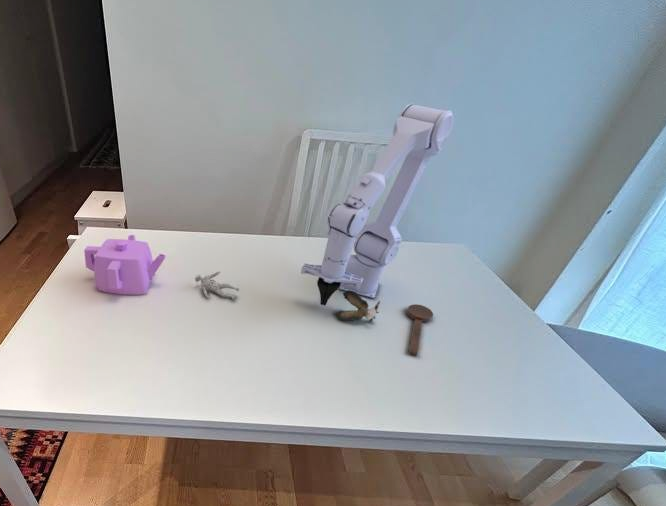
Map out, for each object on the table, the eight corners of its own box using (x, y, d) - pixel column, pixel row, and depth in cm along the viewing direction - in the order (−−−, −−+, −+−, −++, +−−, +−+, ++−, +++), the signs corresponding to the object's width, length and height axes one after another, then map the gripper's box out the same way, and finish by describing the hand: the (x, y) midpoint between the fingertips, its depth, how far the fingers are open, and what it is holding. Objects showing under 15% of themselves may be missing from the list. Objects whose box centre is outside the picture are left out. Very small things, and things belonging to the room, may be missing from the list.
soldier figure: (228, 308, 101) (188, 287, 102) (227, 310, 106) (189, 290, 107) (242, 282, 101) (201, 261, 102) (241, 285, 106) (202, 265, 106)
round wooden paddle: (426, 359, 87) (428, 354, 86) (398, 350, 89) (400, 346, 88) (431, 312, 101) (433, 308, 100) (407, 306, 103) (409, 301, 102)
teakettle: (85, 279, 109) (76, 238, 100) (137, 261, 117) (133, 222, 109) (114, 307, 99) (107, 265, 91) (169, 285, 107) (167, 245, 99)
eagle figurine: (373, 306, 100) (340, 294, 101) (386, 296, 93) (350, 283, 94) (365, 332, 99) (331, 320, 99) (377, 324, 92) (341, 311, 92)
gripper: (302, 255, 91) (292, 303, 100) (365, 271, 86) (348, 319, 95) (310, 243, 95) (300, 289, 104) (370, 258, 91) (354, 305, 100)
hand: (323, 303), depth 100 cm, fingers closed
